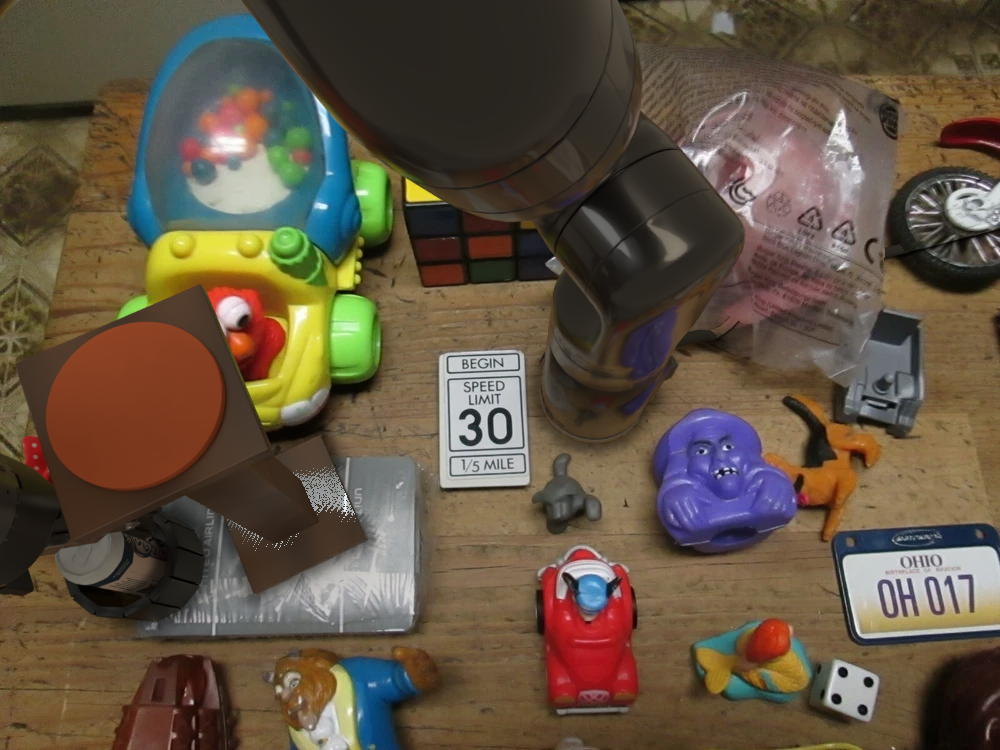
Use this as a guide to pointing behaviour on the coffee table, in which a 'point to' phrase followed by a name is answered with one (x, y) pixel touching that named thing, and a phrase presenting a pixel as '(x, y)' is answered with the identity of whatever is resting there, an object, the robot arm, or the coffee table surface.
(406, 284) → the coffee table surface
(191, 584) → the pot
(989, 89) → the coffee table surface
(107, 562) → the beer can
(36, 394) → the stand
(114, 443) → the disc
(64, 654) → the coffee table surface
